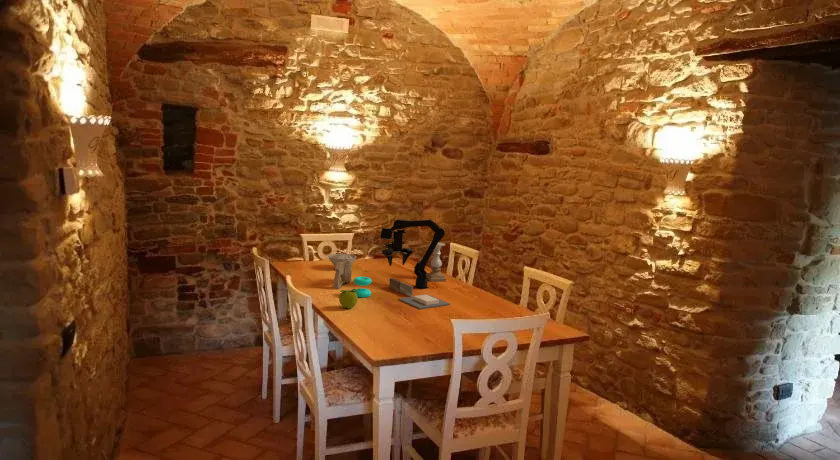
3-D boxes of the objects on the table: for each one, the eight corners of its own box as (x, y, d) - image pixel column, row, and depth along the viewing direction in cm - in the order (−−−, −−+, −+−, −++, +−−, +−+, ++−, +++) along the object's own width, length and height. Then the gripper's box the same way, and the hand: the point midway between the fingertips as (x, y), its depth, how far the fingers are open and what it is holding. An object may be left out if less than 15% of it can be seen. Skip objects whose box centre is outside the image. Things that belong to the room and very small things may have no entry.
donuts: (353, 275, 297) (371, 276, 298) (352, 293, 298) (370, 293, 300) (354, 280, 287) (372, 280, 289) (353, 298, 288) (371, 298, 290)
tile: (425, 294, 292) (439, 299, 283) (425, 298, 293) (438, 303, 283) (413, 296, 288) (426, 301, 278) (413, 299, 288) (426, 305, 278)
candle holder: (440, 277, 350) (442, 241, 347) (446, 281, 340) (448, 244, 337) (424, 277, 347) (426, 241, 344) (430, 281, 336) (432, 244, 333)
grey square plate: (428, 296, 301) (428, 294, 301) (450, 305, 285) (450, 303, 285) (398, 299, 289) (398, 298, 289) (419, 309, 273) (419, 307, 273)
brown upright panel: (392, 287, 315) (393, 278, 314) (413, 296, 298) (414, 286, 297) (389, 288, 314) (389, 278, 313) (410, 297, 296) (410, 286, 295)
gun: (338, 289, 304) (339, 263, 303) (332, 289, 305) (334, 263, 304) (351, 284, 328) (353, 260, 327) (346, 283, 329) (348, 259, 328)
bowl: (328, 265, 368) (328, 251, 366) (356, 266, 370) (356, 252, 369) (326, 271, 349) (327, 256, 347) (356, 272, 351) (356, 257, 350)
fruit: (358, 310, 266) (359, 290, 265) (340, 310, 264) (340, 291, 262) (355, 305, 275) (356, 286, 274) (337, 305, 272) (338, 286, 271)
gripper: (403, 237, 329) (402, 261, 331) (377, 238, 318) (376, 264, 321) (413, 240, 320) (412, 265, 322) (387, 241, 309) (386, 267, 312)
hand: (396, 265), depth 319 cm, fingers open, 9 cm apart
